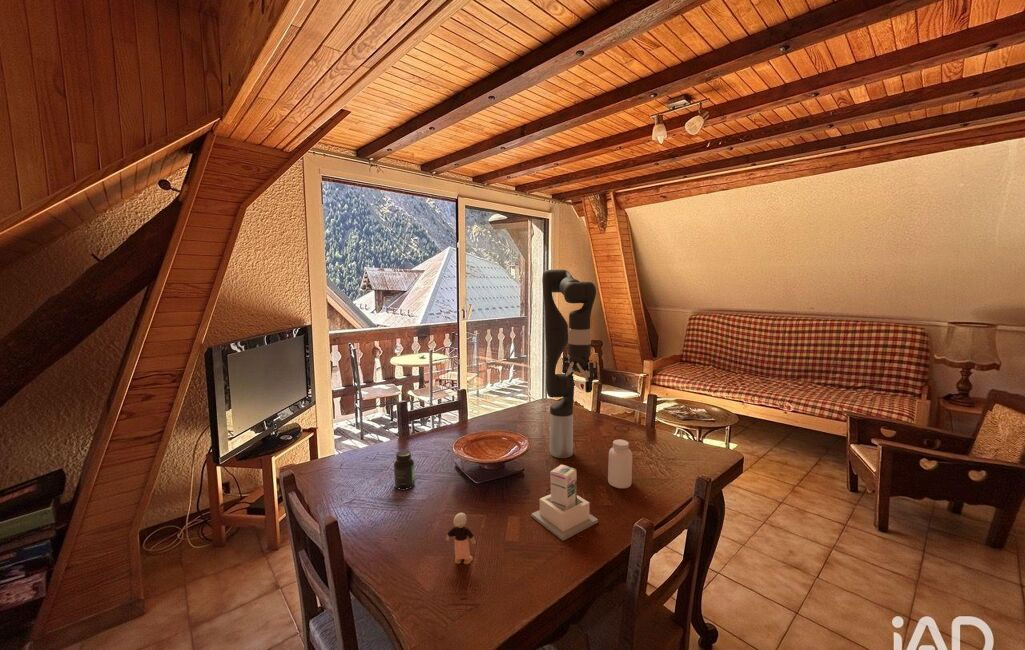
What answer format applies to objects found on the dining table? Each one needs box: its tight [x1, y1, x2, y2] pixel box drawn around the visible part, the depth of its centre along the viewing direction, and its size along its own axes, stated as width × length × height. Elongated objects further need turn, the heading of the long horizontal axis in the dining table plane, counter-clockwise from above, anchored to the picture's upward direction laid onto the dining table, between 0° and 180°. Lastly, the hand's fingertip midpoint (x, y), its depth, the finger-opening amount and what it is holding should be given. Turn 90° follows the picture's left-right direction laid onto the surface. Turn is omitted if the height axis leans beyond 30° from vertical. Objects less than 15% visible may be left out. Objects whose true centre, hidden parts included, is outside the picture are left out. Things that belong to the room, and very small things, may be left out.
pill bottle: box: [607, 439, 633, 489], centre depth 140 cm, size 8×8×15 cm
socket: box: [530, 493, 599, 542], centre depth 120 cm, size 14×14×6 cm
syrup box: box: [549, 464, 578, 512], centre depth 119 cm, size 6×6×14 cm
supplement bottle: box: [393, 449, 416, 489], centre depth 140 cm, size 7×7×12 cm
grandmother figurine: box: [445, 512, 477, 565], centre depth 103 cm, size 8×4×13 cm, turn 92°
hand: (579, 389), depth 136 cm, fingers open, 8 cm apart
